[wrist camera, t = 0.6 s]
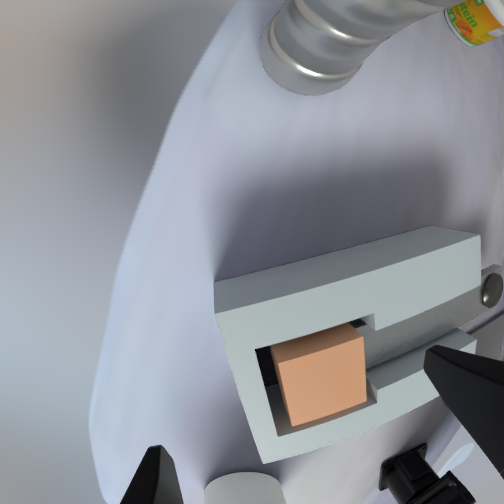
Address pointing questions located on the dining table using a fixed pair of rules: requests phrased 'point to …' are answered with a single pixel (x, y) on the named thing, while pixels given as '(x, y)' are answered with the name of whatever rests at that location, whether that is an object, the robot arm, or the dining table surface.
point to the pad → (489, 338)
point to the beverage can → (244, 489)
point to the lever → (429, 321)
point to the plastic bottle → (333, 38)
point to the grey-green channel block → (338, 312)
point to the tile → (321, 372)
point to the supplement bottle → (476, 20)
